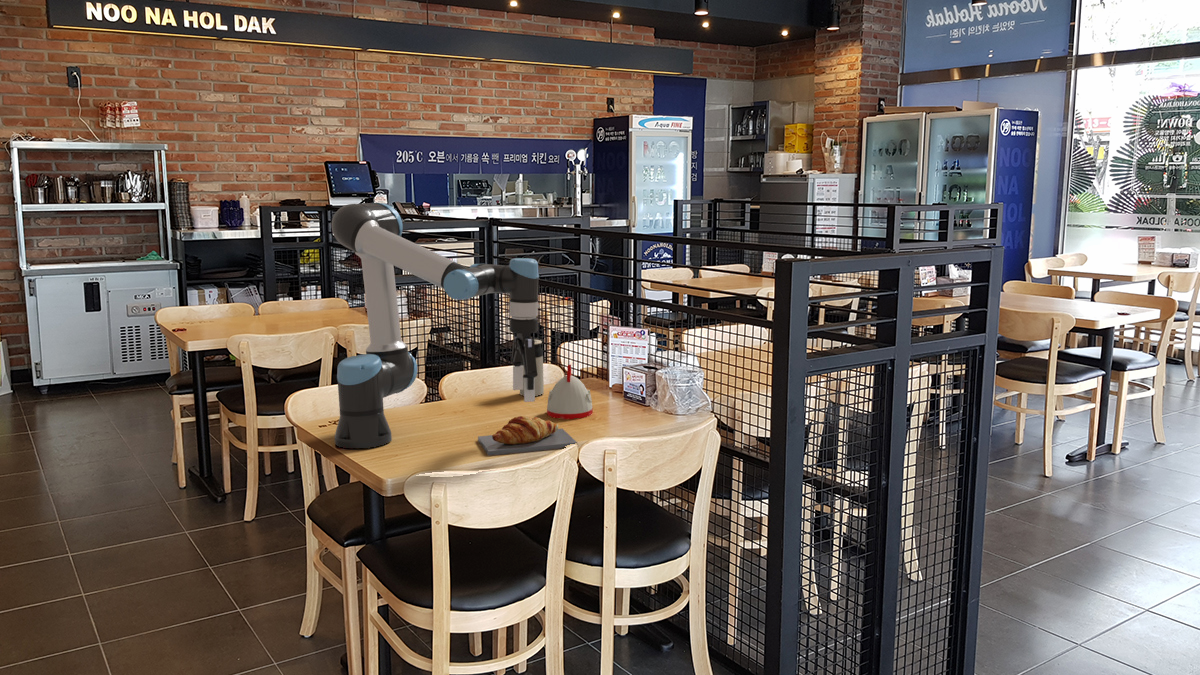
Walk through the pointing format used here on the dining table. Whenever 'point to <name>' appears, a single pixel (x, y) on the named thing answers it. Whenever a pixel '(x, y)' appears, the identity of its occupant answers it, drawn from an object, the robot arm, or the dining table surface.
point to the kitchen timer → (569, 398)
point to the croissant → (524, 430)
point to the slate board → (526, 444)
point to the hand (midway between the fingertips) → (523, 395)
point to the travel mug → (539, 363)
